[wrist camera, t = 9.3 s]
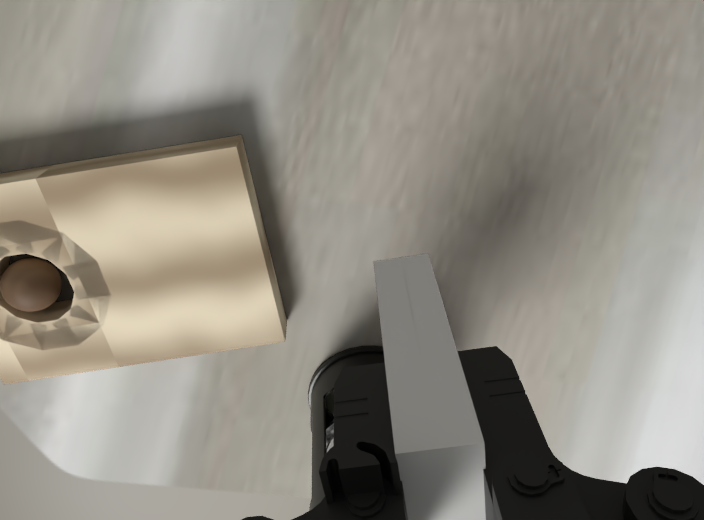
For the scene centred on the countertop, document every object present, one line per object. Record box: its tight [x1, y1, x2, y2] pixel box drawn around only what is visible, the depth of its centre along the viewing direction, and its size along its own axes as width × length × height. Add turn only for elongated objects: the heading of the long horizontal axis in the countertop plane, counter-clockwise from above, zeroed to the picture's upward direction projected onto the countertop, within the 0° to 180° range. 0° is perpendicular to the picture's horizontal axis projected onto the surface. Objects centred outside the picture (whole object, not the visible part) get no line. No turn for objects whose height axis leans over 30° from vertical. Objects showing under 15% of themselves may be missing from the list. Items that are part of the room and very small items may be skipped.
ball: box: [0, 258, 62, 312], centre depth 36 cm, size 4×4×4 cm
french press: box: [308, 346, 385, 510], centre depth 34 cm, size 12×9×23 cm
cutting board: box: [0, 135, 287, 384], centre depth 36 cm, size 14×20×2 cm
